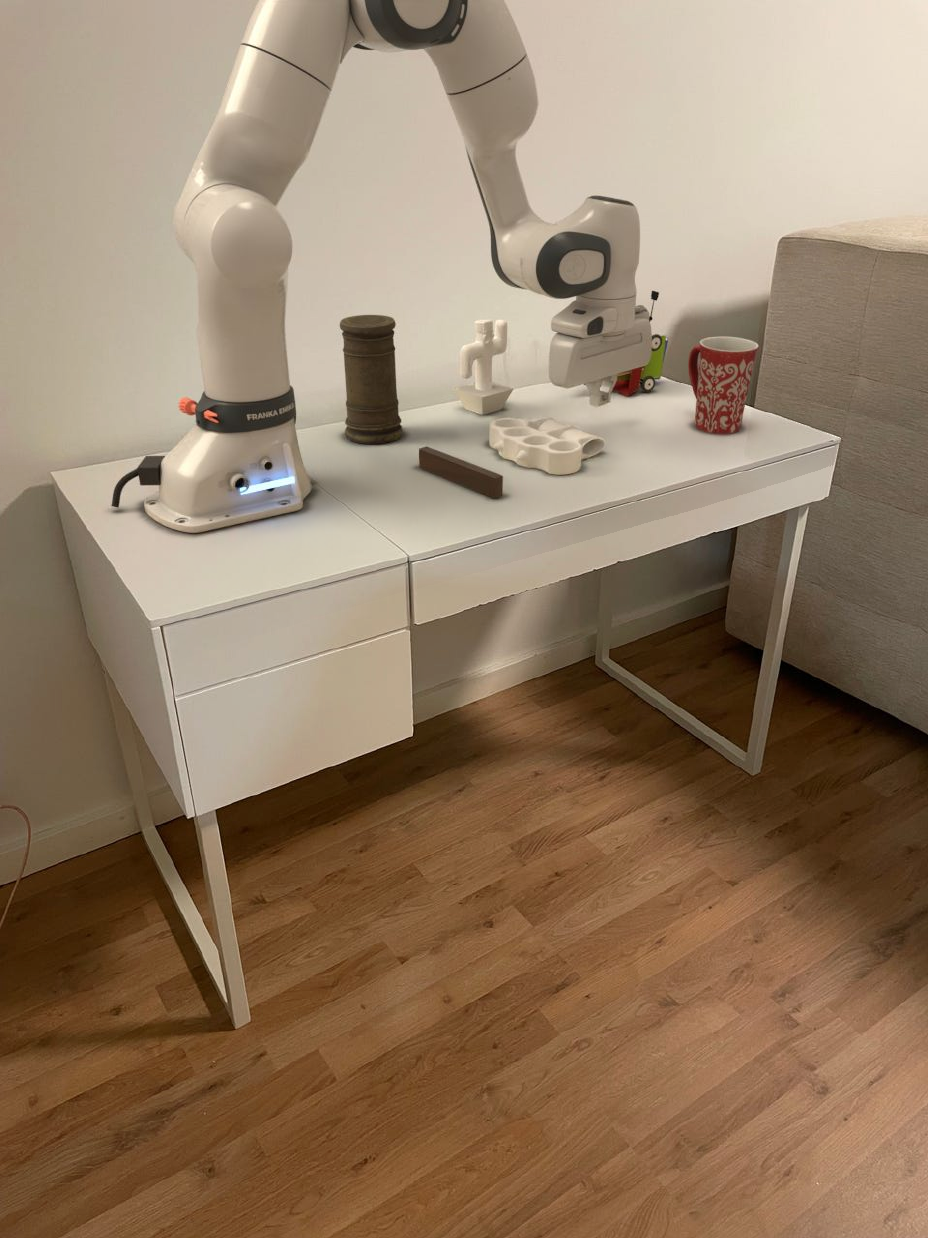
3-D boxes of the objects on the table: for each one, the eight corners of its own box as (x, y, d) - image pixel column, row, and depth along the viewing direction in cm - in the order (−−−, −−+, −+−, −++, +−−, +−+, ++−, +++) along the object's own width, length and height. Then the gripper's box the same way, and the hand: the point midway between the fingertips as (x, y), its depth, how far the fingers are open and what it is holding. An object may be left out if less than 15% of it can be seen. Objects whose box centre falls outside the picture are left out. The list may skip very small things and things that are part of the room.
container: (412, 437, 154) (409, 321, 145) (362, 448, 149) (355, 329, 140) (384, 422, 160) (378, 310, 151) (335, 433, 156) (327, 318, 147)
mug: (758, 431, 156) (771, 346, 149) (712, 439, 152) (723, 352, 146) (709, 409, 165) (719, 328, 159) (665, 416, 162) (673, 334, 155)
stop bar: (494, 499, 132) (495, 478, 130) (419, 467, 142) (418, 448, 140) (502, 496, 132) (503, 475, 131) (427, 465, 143) (426, 445, 141)
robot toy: (675, 393, 177) (584, 399, 168) (644, 381, 184) (555, 385, 175) (693, 296, 169) (598, 296, 160) (660, 286, 176) (567, 286, 167)
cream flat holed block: (618, 460, 144) (542, 482, 137) (541, 428, 157) (467, 446, 150) (620, 438, 143) (542, 459, 135) (542, 408, 155) (467, 425, 148)
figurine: (448, 410, 166) (447, 320, 158) (489, 399, 171) (490, 311, 164) (476, 420, 161) (477, 328, 154) (517, 408, 166) (520, 318, 159)
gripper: (633, 299, 153) (626, 386, 160) (542, 321, 141) (540, 413, 148) (665, 305, 149) (657, 394, 156) (575, 328, 137) (571, 423, 144)
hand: (599, 404), depth 152 cm, fingers closed
